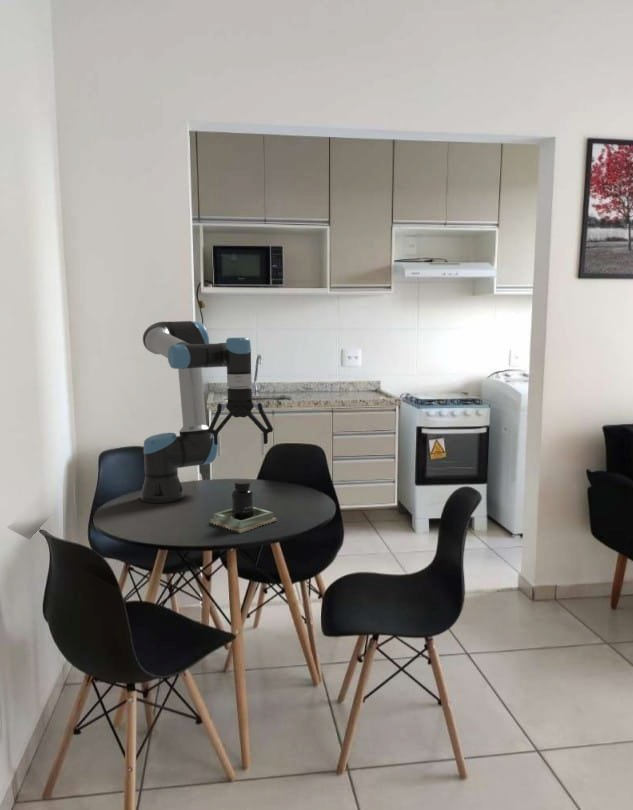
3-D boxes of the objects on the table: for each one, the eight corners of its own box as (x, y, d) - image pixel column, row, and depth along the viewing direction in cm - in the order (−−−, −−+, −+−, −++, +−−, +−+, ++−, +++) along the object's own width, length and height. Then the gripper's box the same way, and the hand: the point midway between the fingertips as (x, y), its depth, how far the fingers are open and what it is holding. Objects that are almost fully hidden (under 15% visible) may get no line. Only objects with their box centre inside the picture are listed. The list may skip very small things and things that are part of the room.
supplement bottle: (250, 522, 193) (249, 485, 192) (229, 521, 195) (228, 484, 193) (256, 516, 200) (255, 480, 199) (236, 515, 201) (235, 479, 200)
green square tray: (210, 522, 197) (209, 513, 197) (246, 512, 208) (246, 503, 208) (240, 533, 187) (240, 523, 187) (276, 521, 198) (276, 512, 197)
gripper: (197, 389, 188) (199, 457, 191) (279, 388, 189) (280, 456, 191) (201, 386, 196) (203, 452, 198) (280, 385, 196) (281, 451, 199)
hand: (241, 454), depth 195 cm, fingers open, 13 cm apart
